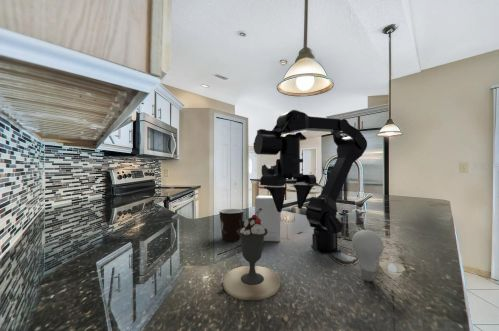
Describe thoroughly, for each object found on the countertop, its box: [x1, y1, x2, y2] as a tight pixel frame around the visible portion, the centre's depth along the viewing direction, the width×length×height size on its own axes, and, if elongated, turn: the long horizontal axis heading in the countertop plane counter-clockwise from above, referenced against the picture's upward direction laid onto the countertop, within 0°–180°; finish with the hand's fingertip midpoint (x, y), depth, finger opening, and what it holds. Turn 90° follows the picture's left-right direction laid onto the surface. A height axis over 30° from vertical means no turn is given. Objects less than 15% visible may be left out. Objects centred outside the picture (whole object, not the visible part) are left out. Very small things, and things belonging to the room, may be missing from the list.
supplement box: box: [254, 195, 282, 243], centre depth 79 cm, size 9×9×15 cm
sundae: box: [237, 208, 268, 285], centre depth 46 cm, size 7×7×15 cm
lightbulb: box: [351, 229, 384, 282], centre depth 47 cm, size 6×6×11 cm
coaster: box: [222, 265, 281, 301], centre depth 46 cm, size 12×12×1 cm
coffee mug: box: [218, 208, 244, 243], centre depth 78 cm, size 12×9×10 cm
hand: (290, 210), depth 61 cm, fingers open, 9 cm apart
